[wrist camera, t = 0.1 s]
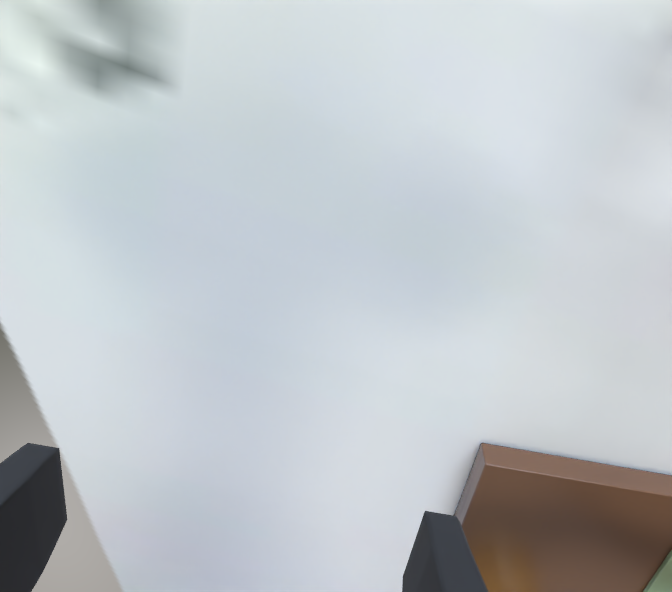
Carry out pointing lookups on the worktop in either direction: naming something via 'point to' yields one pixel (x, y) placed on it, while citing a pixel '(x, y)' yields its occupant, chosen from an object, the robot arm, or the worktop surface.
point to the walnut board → (566, 524)
